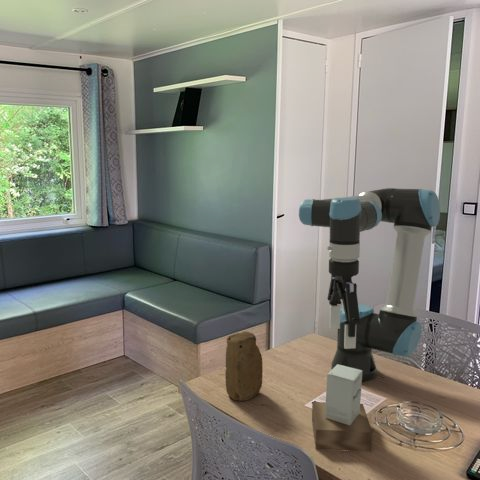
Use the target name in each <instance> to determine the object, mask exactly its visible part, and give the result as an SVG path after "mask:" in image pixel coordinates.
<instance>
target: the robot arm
mask: <svg viewBox="0 0 480 480" xmlns="http://www.w3.org/2000/svg"><path fill="white" fill-rule="evenodd" d="M298 218H299V221H300V222H301V223H302V224H303V225H304V226H310V227H321V228H329V246H327V247H326V248H327V251H329V254H328V255H329V258H330V259H329V260H328V273H329V275H331V276H330V282H329V289H328V293H327V298H326V299H327V301H328V303H329V330H336V329H337V341H336V342H337V343H336V346H337V347H336V351H335V354H334V356H333V358H332V361H331V366H330V367H331V369H330V371H331V370H332V369H333V368H334V367H335V366H336V365H337V364H338V365H343V366H347V367H351V368H355V369H359V370H362V382H366V381H370V380H373V379H374V378H375V377H376V376H377V366H376V365H377V364H376V361H375V358H374V355H373V352H372V351H373V350H376V351H379V352H383V353H387V354H390V355H391V354H392V355H393V356H399V357H403V358H404V357H405V358H407V357H410V356H411V355H412V354H414V352H415V351H416V349H417V348H418V346H419V343H420V339H421V337H422V336H421V335H422V324H421V322H419V321H418V320H417V319H418V315H417V314H416V312H415V311H414V307H415V301H416V293H417V289H418V288H417V287H418V281H419V275H420V268H421V264H422V257H423V251H424V244H425V237H427V236H428V235H429V234H431V231H432V228H435V227H437V226H439V225H438V224H439V222H440V218H441V206H440V199H439V197H438V195H437V193H436V192H435V191H433V190H430V189H429V190H428V189H423V188H394V187H393V188H392V187H390V188H389V187H388V188H387V187H386V188H381V189H374V190H370V191H364V192H361V193H360V194H359V195H352V196H345V197H344V196H343V197H334V198H325V199H315V198H311V199H308V198H307V199H304V200H303V201H302V202H301V203H300V205H299V208H298ZM380 222H384V223H390V224H393V229H394V230H395V231H396V233H397V234H396V240H395V247H394V252H393V258H392V264H391V270H390V277H389V283H388V288H387V294H386V301H385V304H384V306H382V307H381V308H380V309H379V313H375V310H374V307H372V306H371V305H366V304H359V302H358V301H359V299H358V294H357V293H358V292H357V291H358V289H357V287H358V285H357V283H355V282H353V281H352V278H353V277H354V276H357V275H359V270H360V261H359V258H360V256H361V255H360V254H361V253H360V252H361V250H360V249H361V248H360V247H361V242H360V238H361V237H360V236H361V232H365V231H369V230H372V229H373V228H375V227H377V226H378V225H379V224H380ZM341 300H342V301H341ZM341 305H343V306H342V308H341Z"/></svg>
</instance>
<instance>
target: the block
mask: <svg viewBox="0 0 480 480" xmlns="http://www.w3.org/2000/svg"><path fill="white" fill-rule="evenodd" d="M226 344H227V345H226V350H225V372H224V373H225V375H224V376H225V388H226V393H227V394H228V396H229V397H230V398H231V399H232V400H233V401H238V402H239V401H240V402H241V401H243V402H244V401H249V400H251V399H252V398H254V397H256V396H257V395H259V392H260V390H261V388H262V387H263V371H264V370H263V366H264V365H263V355H262V353H261V351H260V348H259V346H258V345H257V337H256V335H255V334H254V333H253V332H250V331H249V332H248V331H242V332H236V333H233V334H231V335H228V336H227V338H226Z"/></svg>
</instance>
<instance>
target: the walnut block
mask: <svg viewBox="0 0 480 480" xmlns="http://www.w3.org/2000/svg"><path fill="white" fill-rule="evenodd" d="M311 404H312V406H311V423H312V430H313V431H312V432H313V438H314V439H313V440H314V448H315V450H316V449H317V451H318V450H319V451H321V450H323V451H341V450H346V451H345V452H367V453H368V452H370V453H371V452H372V444H373V443H372V441H373V430H372V427H371V423H370V421H369V418H368V415H367V412H366V409H365V406H364V404H363V403H360V413H359V414H358V416H357V417H356V418H355V419H354V421H353V422H352V424H351V425H346V424H343V423H340V422H337V421H334V420H331V419H328V418H325V405H326V401H324V402H321V401H318V402H317V401H312V403H311ZM347 450H348V451H347Z"/></svg>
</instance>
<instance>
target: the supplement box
mask: <svg viewBox="0 0 480 480" xmlns="http://www.w3.org/2000/svg"><path fill="white" fill-rule="evenodd" d="M326 375H327V377H326V389H325V392H326V394H325V402H326V405H325V418H328V419H331V420H334V421H337V422H340V423H343V424H346V425H351V424H352V422H353V421H354V419H355V418H356V417H357V416H358V414H359V413H360V404H361V396H362V382H363V381H362V370H359V369H355V368H351V367H347V366H343V365H338V364H337V365H336V366H335V367H334V368H333V369H332V370H331V369H330V371H329V372H328V373H327V374H326Z"/></svg>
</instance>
